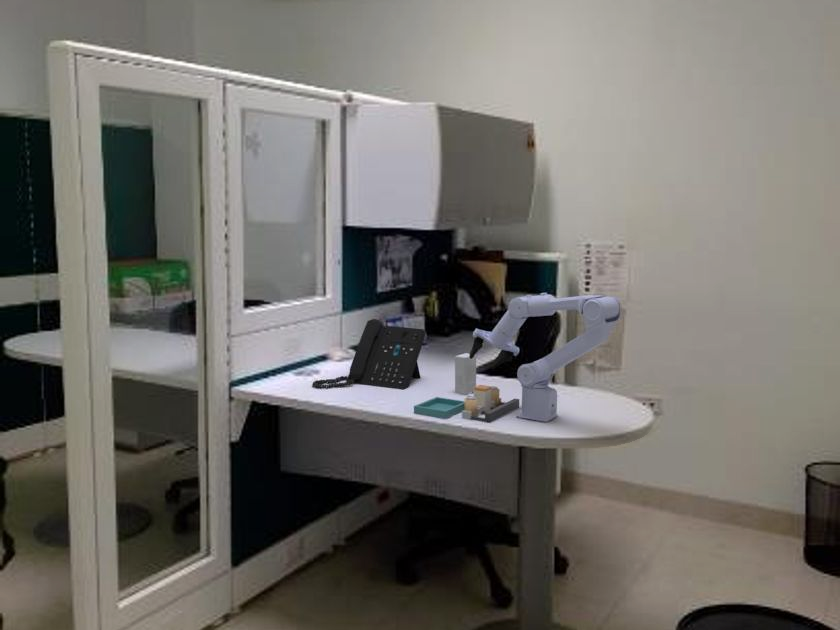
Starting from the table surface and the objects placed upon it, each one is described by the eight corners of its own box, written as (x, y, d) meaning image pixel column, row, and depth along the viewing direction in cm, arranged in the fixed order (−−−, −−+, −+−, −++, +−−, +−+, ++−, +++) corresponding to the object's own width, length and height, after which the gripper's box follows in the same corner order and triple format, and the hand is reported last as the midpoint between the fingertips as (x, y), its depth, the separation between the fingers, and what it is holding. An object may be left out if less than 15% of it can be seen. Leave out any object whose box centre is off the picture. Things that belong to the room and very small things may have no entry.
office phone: (307, 388, 258) (306, 326, 255) (351, 371, 283) (351, 315, 280) (387, 398, 245) (387, 334, 242) (426, 379, 271) (426, 321, 268)
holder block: (519, 407, 234) (519, 399, 234) (489, 422, 218) (489, 413, 218) (492, 403, 239) (493, 395, 238) (462, 417, 223) (462, 409, 223)
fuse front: (479, 416, 225) (479, 396, 224) (473, 418, 222) (473, 399, 221) (468, 414, 227) (468, 394, 226) (462, 417, 224) (462, 397, 223)
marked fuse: (490, 410, 231) (491, 386, 230) (484, 413, 228) (485, 388, 227) (479, 408, 233) (480, 384, 232) (473, 411, 230) (474, 387, 228)
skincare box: (465, 389, 256) (466, 352, 254) (476, 391, 253) (476, 354, 251) (454, 392, 251) (454, 355, 250) (465, 395, 249) (465, 357, 247)
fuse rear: (501, 405, 236) (501, 386, 236) (495, 408, 233) (496, 389, 233) (490, 403, 238) (490, 385, 238) (484, 406, 235) (485, 387, 235)
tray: (467, 408, 232) (467, 401, 232) (445, 418, 222) (445, 411, 222) (436, 403, 238) (436, 396, 238) (413, 413, 227) (413, 406, 227)
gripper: (526, 331, 233) (502, 362, 241) (483, 311, 230) (460, 343, 237) (528, 346, 228) (503, 377, 235) (484, 325, 224) (460, 358, 232)
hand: (481, 361), depth 236 cm, fingers open, 7 cm apart
